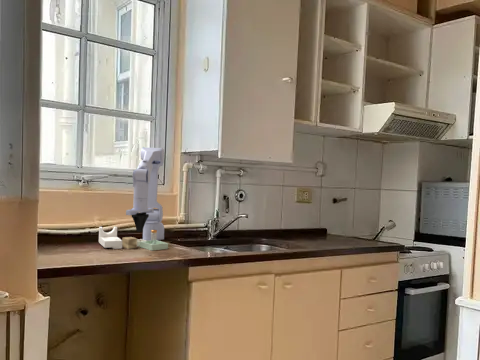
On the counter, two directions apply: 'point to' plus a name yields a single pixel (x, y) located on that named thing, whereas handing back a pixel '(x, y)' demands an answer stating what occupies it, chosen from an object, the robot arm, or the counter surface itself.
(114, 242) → the bracket
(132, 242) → the chock
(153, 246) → the tray
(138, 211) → the robot arm
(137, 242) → the keeper
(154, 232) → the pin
